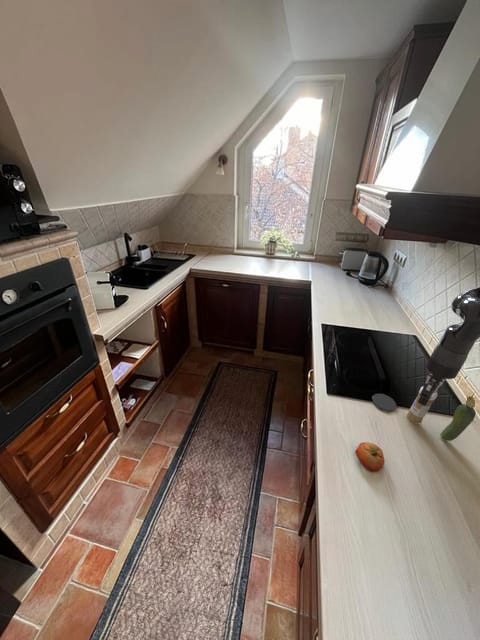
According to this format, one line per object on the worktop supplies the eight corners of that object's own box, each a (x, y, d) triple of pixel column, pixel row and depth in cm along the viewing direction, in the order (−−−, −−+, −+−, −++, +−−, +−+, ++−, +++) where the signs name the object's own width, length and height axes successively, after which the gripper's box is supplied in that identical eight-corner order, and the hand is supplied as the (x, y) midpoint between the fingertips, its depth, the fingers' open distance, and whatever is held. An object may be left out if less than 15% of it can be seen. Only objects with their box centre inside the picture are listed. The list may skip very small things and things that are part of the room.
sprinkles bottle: (404, 412, 89) (418, 384, 83) (417, 413, 89) (433, 386, 82) (410, 423, 86) (425, 395, 79) (424, 425, 85) (441, 396, 78)
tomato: (359, 470, 71) (363, 443, 73) (349, 461, 78) (352, 436, 79) (388, 477, 71) (391, 450, 72) (375, 467, 78) (378, 443, 79)
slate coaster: (388, 394, 98) (388, 393, 98) (400, 411, 91) (400, 410, 91) (368, 395, 98) (368, 393, 97) (378, 412, 91) (379, 410, 91)
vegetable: (453, 439, 82) (484, 395, 72) (454, 450, 79) (488, 406, 69) (436, 433, 84) (465, 389, 74) (437, 443, 81) (467, 399, 71)
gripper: (455, 376, 68) (429, 419, 76) (469, 356, 76) (445, 396, 84) (423, 362, 73) (403, 403, 81) (440, 344, 81) (420, 383, 89)
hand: (424, 399), depth 83 cm, fingers closed on sprinkles bottle, 4 cm apart
